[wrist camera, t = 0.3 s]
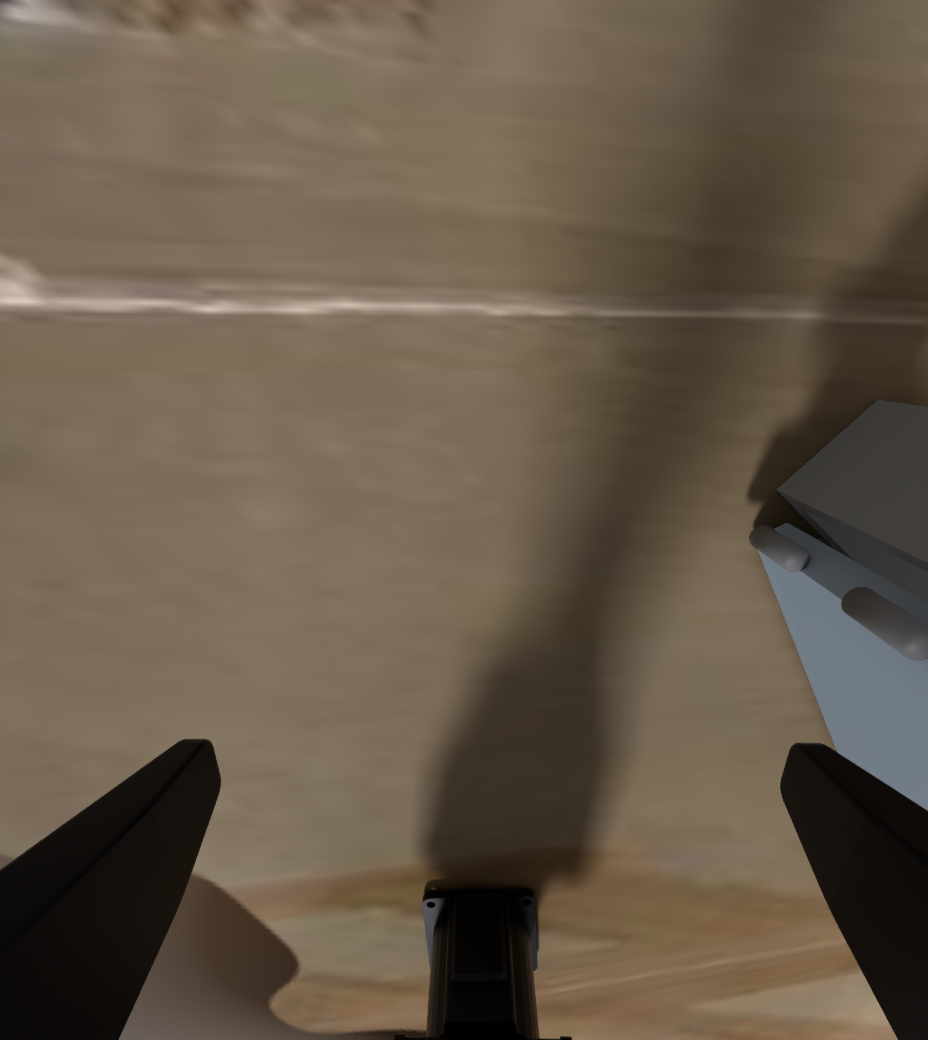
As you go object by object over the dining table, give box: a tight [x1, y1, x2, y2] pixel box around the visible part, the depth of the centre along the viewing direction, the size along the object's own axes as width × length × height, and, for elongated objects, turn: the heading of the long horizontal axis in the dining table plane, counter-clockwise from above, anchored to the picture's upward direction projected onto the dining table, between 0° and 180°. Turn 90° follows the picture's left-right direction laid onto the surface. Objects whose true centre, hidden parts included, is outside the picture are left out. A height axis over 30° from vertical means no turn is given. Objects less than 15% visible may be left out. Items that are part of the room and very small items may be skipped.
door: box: [749, 523, 928, 810], centre depth 20 cm, size 3×17×10 cm, turn 29°
